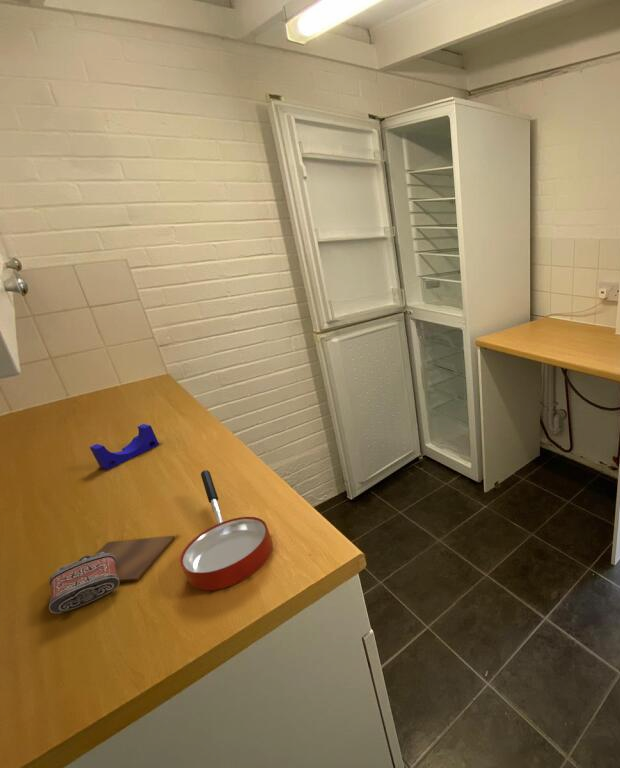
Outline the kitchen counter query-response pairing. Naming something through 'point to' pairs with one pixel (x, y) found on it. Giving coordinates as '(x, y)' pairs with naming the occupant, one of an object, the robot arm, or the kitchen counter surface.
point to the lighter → (83, 582)
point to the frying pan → (225, 548)
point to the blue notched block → (126, 448)
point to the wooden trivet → (135, 555)
